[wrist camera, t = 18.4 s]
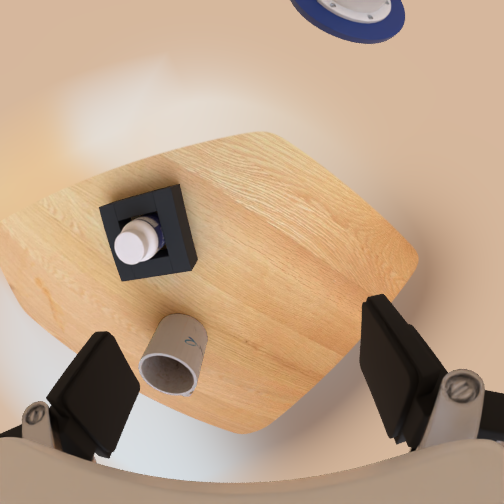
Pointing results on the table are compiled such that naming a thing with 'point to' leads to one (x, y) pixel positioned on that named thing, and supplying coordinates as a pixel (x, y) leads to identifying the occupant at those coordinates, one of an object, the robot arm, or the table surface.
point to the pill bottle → (140, 239)
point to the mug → (174, 355)
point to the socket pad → (173, 227)
